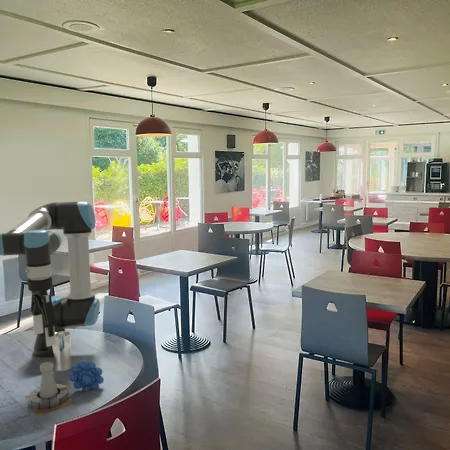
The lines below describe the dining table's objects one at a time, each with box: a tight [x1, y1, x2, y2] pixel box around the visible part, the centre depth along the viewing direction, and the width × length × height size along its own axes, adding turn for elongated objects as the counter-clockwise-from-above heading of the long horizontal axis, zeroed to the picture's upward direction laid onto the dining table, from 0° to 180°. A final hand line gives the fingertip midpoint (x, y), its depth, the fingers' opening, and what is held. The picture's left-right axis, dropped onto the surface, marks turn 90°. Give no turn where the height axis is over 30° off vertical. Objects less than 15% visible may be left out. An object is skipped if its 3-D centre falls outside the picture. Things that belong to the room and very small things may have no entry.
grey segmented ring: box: [27, 383, 70, 410], centre depth 155 cm, size 12×12×3 cm
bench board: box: [24, 394, 76, 417], centre depth 156 cm, size 16×12×1 cm
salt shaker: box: [39, 361, 58, 399], centre depth 155 cm, size 6×6×13 cm
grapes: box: [68, 359, 105, 392], centre depth 161 cm, size 12×7×12 cm, turn 106°
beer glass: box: [52, 330, 72, 372], centre depth 179 cm, size 7×7×15 cm
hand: (44, 339), depth 153 cm, fingers open, 13 cm apart
